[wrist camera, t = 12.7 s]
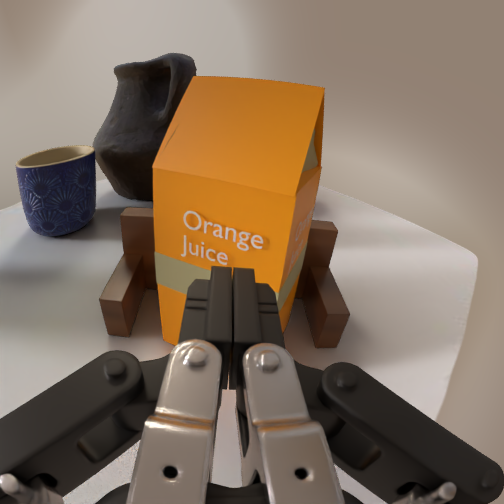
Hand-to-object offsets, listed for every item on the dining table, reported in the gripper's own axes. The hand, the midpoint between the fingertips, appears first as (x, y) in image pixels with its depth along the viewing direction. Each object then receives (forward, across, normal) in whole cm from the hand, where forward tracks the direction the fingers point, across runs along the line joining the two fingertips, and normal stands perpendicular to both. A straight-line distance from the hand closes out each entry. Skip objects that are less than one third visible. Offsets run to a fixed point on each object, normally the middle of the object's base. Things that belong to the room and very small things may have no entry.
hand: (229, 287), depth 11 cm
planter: (+29, +25, +13) cm, 40 cm away
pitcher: (+44, +14, +13) cm, 48 cm away
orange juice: (+10, -1, +13) cm, 16 cm away
